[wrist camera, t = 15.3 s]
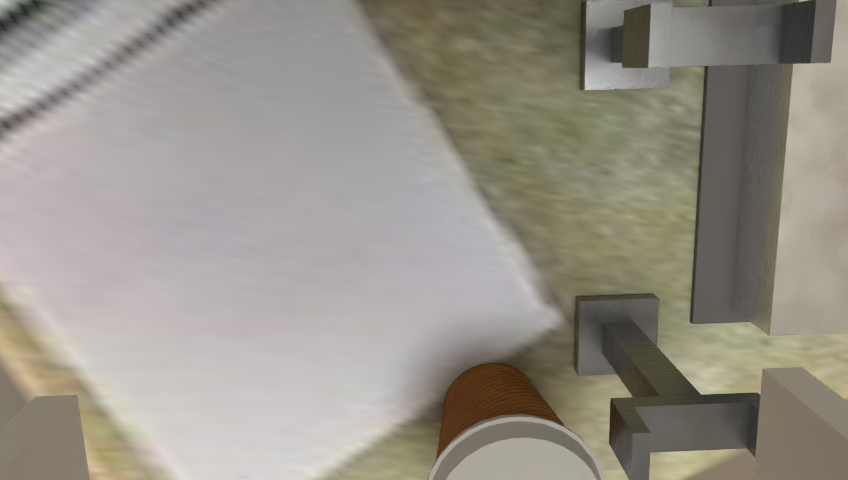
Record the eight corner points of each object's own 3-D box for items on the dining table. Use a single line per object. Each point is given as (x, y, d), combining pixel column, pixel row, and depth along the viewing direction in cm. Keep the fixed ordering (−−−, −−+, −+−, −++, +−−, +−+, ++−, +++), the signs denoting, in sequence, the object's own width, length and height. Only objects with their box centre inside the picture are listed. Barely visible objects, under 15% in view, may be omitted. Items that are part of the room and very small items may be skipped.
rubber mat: (716, -112, 42) (719, -114, 41) (889, -116, 42) (894, -118, 41) (690, 321, 48) (692, 323, 47) (842, 316, 48) (845, 318, 47)
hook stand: (563, 2, 43) (652, -33, 28) (685, -1, 43) (840, -38, 28) (557, 370, 48) (629, 508, 33) (666, 365, 48) (787, 501, 33)
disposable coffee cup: (394, 379, 48) (392, 479, 36) (526, 315, 47) (567, 397, 35) (458, 494, 50) (475, 624, 38) (585, 435, 49) (642, 549, 38)
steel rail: (760, -95, 41) (808, -117, 37) (847, -97, 42) (907, -119, 37) (731, 308, 47) (769, 336, 42) (808, 305, 47) (855, 332, 42)
